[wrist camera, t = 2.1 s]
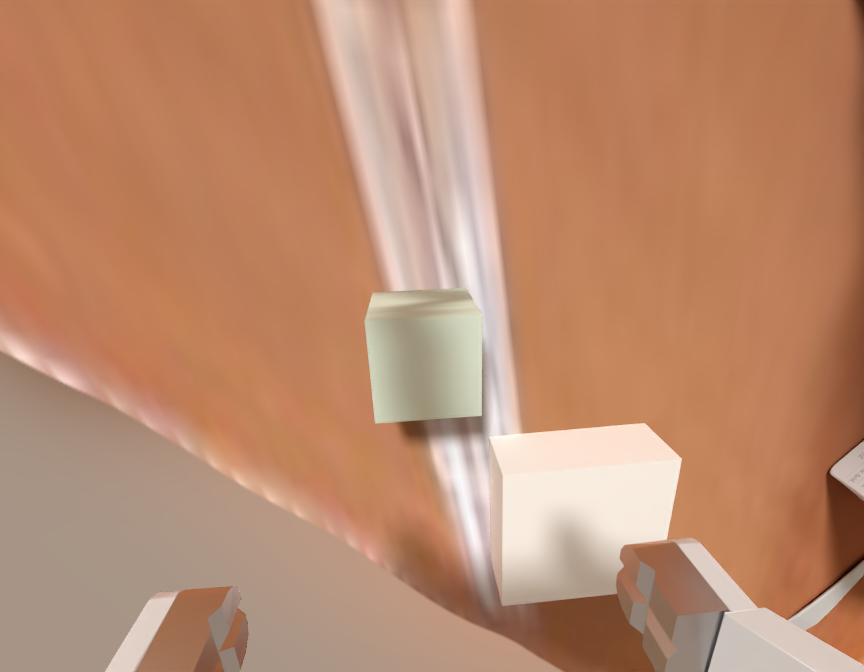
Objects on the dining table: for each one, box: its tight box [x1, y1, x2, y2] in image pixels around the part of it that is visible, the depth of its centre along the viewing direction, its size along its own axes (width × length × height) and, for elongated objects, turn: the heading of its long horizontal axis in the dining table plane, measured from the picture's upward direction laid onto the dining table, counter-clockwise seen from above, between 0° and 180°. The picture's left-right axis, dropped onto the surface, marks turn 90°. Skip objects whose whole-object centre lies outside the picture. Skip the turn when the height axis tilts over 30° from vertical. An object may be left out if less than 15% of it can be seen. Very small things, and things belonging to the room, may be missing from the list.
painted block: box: [489, 423, 682, 606], centre depth 26 cm, size 10×10×4 cm
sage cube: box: [365, 288, 482, 423], centre depth 20 cm, size 5×5×5 cm
